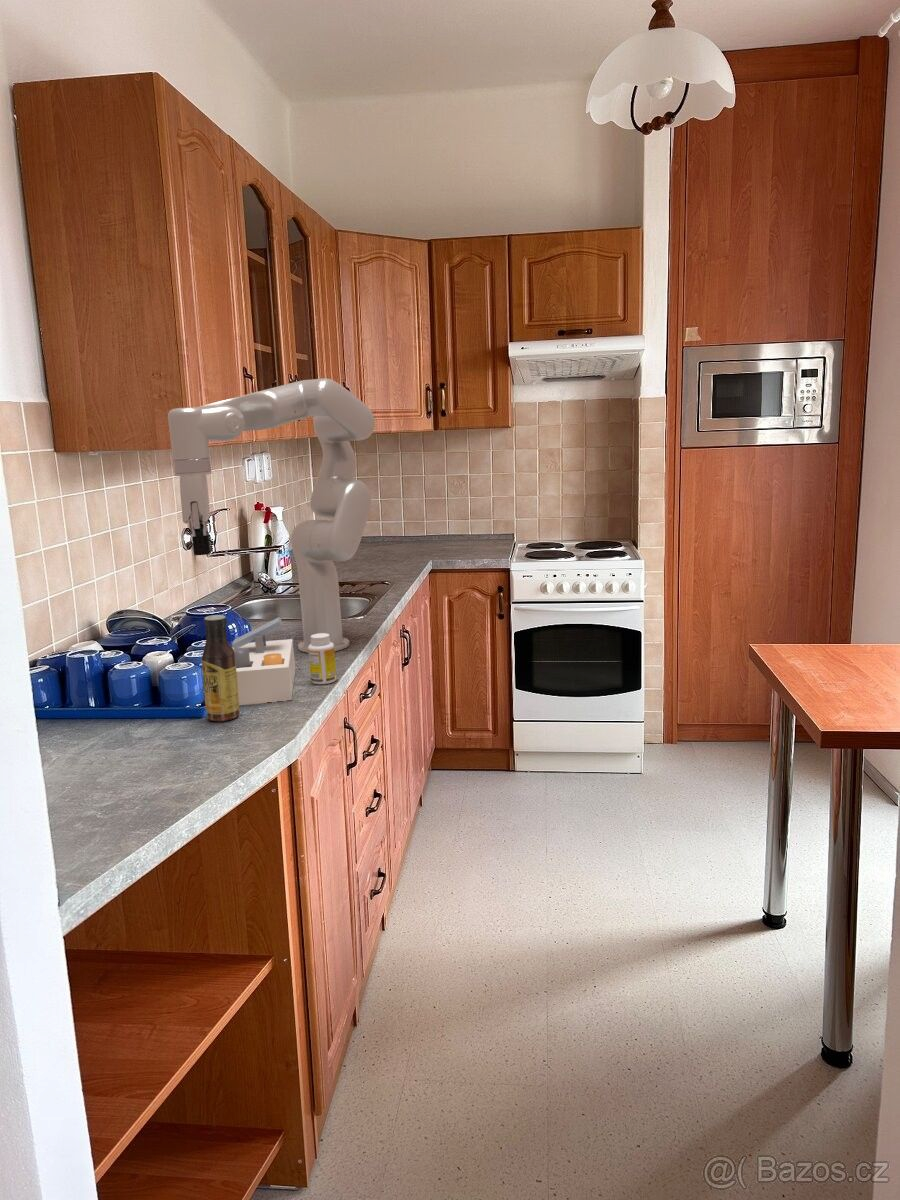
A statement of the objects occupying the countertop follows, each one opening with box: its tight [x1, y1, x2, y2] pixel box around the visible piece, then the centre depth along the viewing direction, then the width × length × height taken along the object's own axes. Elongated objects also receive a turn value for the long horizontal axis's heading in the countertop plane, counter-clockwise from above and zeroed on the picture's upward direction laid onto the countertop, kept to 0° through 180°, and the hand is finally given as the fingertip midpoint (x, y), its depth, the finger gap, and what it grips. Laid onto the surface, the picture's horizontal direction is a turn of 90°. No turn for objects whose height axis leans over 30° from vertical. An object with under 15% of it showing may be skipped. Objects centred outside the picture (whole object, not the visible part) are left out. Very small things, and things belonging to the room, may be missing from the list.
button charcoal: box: [234, 648, 250, 668], centre depth 180 cm, size 4×4×8 cm
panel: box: [232, 634, 296, 706], centre depth 188 cm, size 24×13×10 cm, turn 8°
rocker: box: [231, 616, 283, 649], centre depth 192 cm, size 6×11×2 cm, turn 98°
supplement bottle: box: [307, 633, 338, 685], centre depth 189 cm, size 6×6×10 cm
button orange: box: [263, 653, 282, 666], centre depth 181 cm, size 4×4×8 cm
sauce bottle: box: [200, 614, 240, 723], centre depth 168 cm, size 7×6×20 cm
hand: (202, 554), depth 189 cm, fingers closed
